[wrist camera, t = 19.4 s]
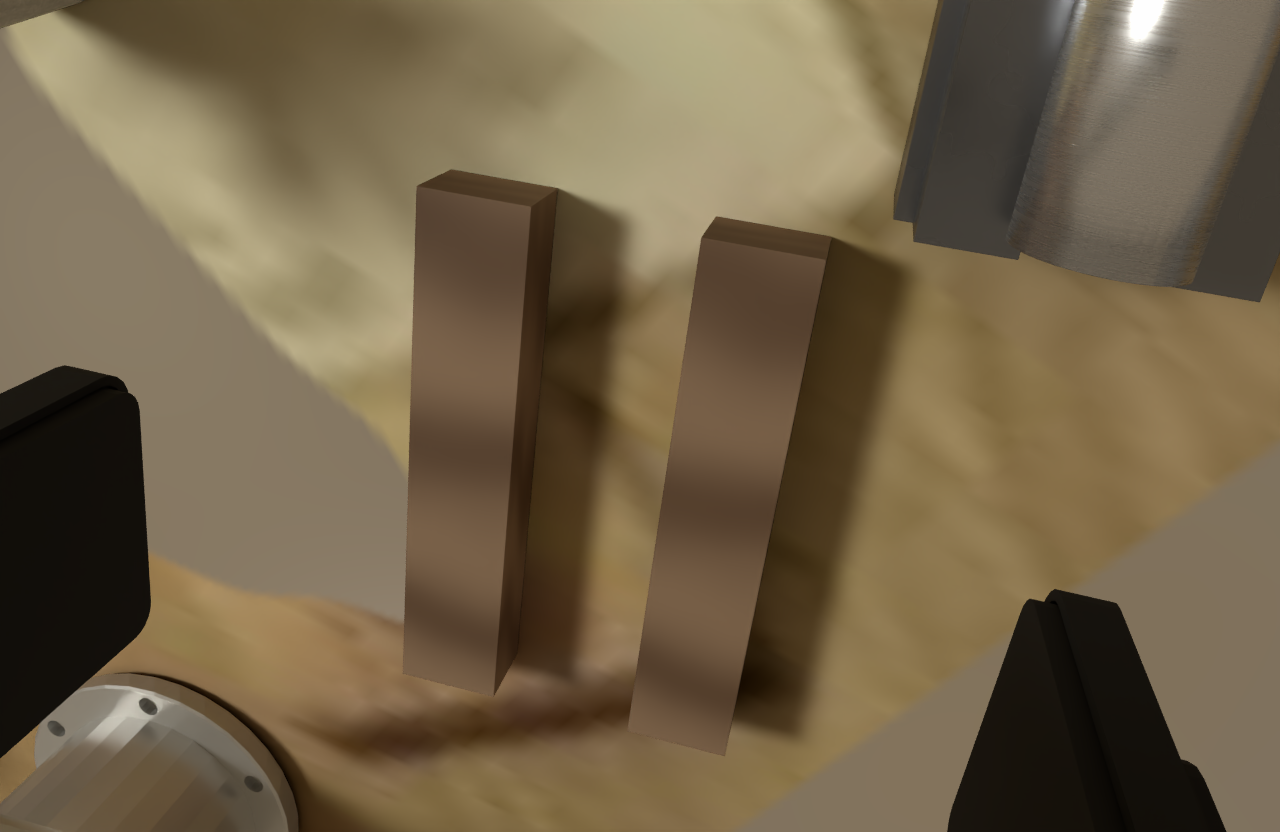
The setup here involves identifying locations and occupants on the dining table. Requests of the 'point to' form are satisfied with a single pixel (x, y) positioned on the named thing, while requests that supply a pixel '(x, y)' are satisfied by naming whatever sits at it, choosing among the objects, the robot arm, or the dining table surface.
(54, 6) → the house plant
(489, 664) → the parallel rectangular beams
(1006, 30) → the v-block
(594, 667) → the dining table surface
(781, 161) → the dining table surface
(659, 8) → the dining table surface
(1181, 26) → the axle
